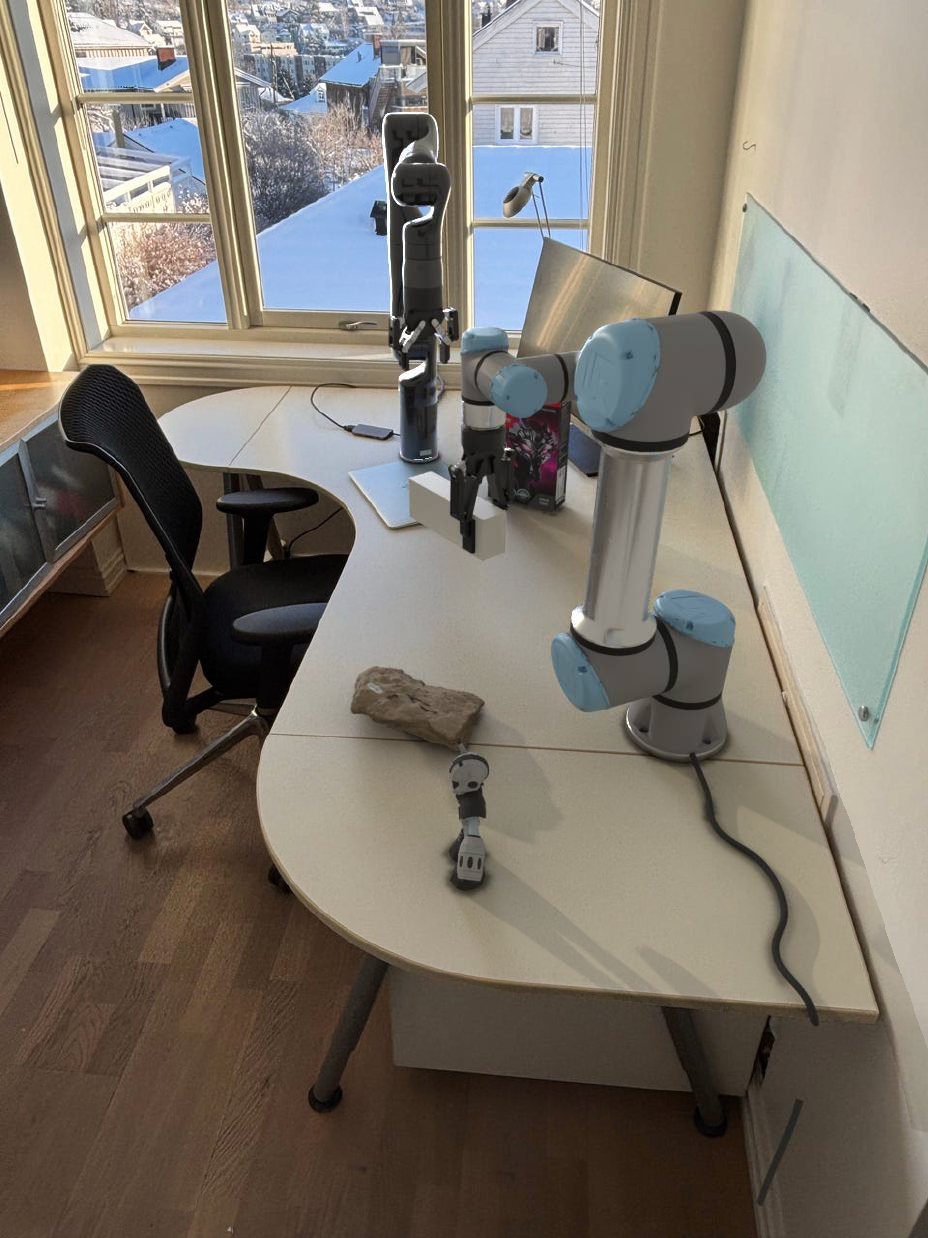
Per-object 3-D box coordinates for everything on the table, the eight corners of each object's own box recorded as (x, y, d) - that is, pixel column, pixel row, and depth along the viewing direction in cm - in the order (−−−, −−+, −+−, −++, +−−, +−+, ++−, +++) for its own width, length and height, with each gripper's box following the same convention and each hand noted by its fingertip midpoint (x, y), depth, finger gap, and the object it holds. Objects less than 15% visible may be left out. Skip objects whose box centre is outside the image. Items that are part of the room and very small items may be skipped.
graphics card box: (485, 497, 209) (487, 380, 194) (498, 486, 214) (502, 371, 199) (554, 514, 203) (562, 394, 188) (566, 502, 208) (575, 384, 193)
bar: (505, 552, 166) (506, 511, 162) (482, 561, 164) (483, 520, 159) (431, 509, 181) (430, 470, 176) (409, 516, 178) (408, 477, 174)
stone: (324, 722, 139) (331, 687, 137) (361, 683, 152) (368, 651, 150) (454, 769, 135) (464, 735, 133) (480, 725, 149) (489, 694, 147)
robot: (491, 927, 112) (496, 809, 101) (451, 928, 112) (451, 811, 101) (481, 809, 129) (484, 697, 117) (446, 811, 128) (445, 698, 117)
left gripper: (446, 272, 178) (447, 355, 187) (380, 281, 172) (383, 366, 181) (466, 281, 173) (465, 366, 182) (397, 290, 167) (400, 378, 176)
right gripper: (510, 404, 161) (506, 523, 174) (426, 429, 152) (428, 553, 164) (539, 417, 156) (533, 538, 169) (454, 442, 147) (454, 569, 159)
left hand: (424, 366), depth 181 cm, fingers open, 8 cm apart
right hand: (481, 545), depth 167 cm, fingers closed on bar, 5 cm apart
